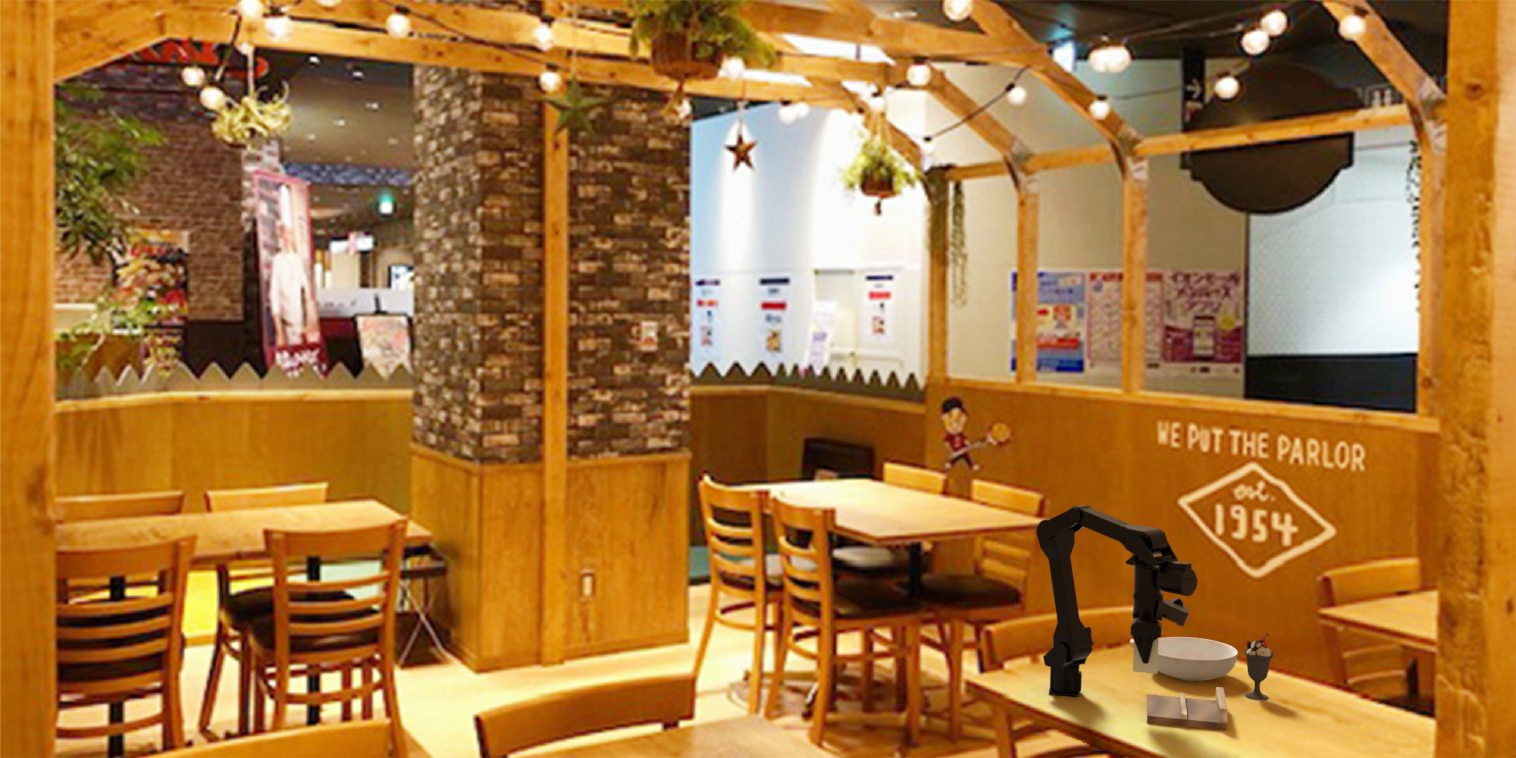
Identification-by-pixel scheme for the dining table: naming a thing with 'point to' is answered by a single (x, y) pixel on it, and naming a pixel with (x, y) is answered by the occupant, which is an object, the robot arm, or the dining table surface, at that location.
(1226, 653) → the serving bowl
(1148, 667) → the cabinet block
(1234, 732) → the dining table surface
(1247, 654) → the sundae
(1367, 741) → the dining table surface
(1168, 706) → the cleat board
